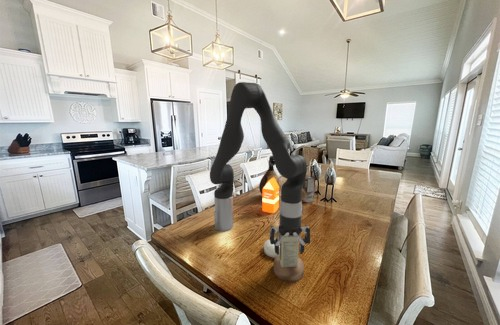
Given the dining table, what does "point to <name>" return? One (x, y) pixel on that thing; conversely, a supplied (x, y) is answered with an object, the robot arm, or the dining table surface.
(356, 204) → the dining table surface
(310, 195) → the coffee box
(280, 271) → the pinkish brown pedestal
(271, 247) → the white rounded piece
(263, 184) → the ceramic jug
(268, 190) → the orange juice
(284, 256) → the skincare box
